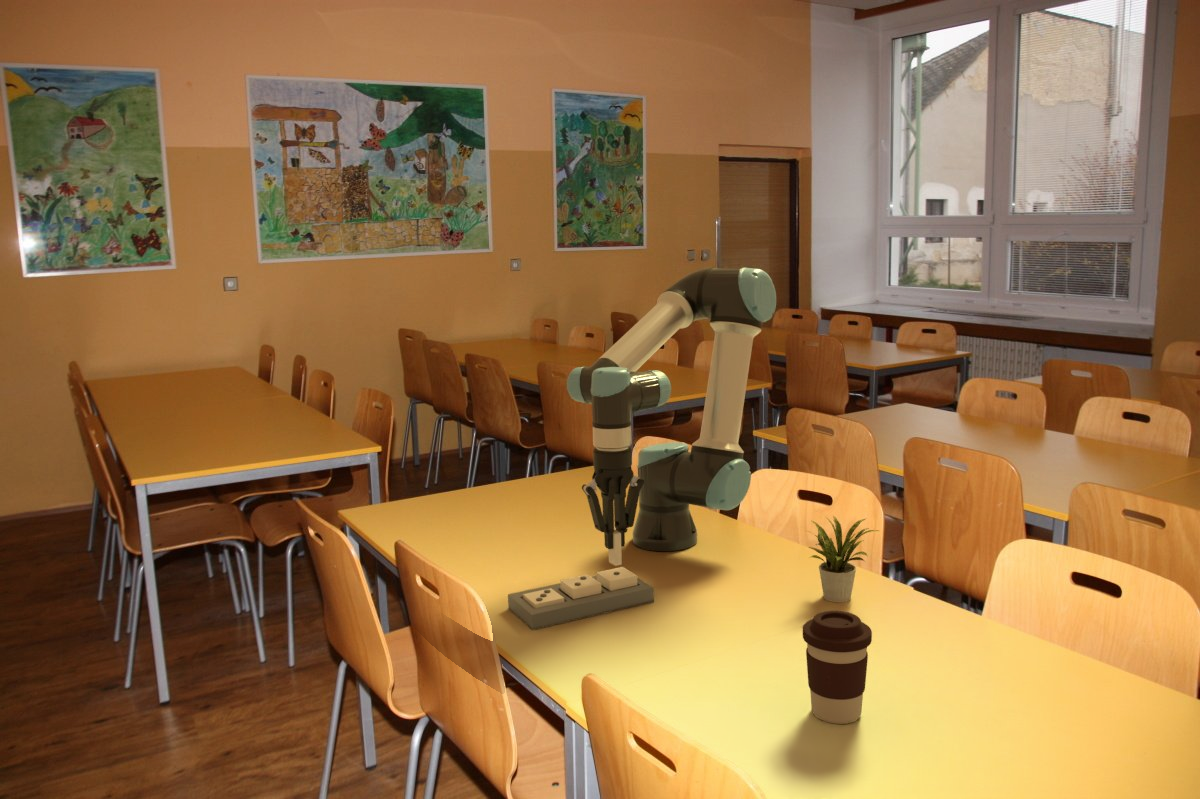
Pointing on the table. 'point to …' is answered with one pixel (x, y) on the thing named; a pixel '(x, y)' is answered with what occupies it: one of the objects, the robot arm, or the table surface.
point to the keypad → (578, 604)
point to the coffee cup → (836, 664)
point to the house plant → (838, 561)
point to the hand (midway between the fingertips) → (615, 563)
